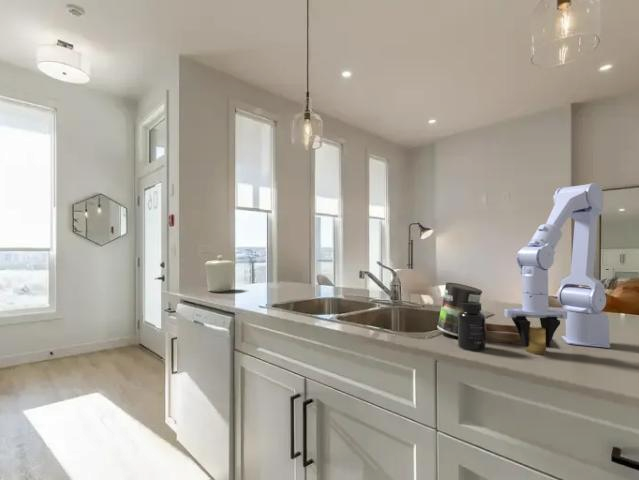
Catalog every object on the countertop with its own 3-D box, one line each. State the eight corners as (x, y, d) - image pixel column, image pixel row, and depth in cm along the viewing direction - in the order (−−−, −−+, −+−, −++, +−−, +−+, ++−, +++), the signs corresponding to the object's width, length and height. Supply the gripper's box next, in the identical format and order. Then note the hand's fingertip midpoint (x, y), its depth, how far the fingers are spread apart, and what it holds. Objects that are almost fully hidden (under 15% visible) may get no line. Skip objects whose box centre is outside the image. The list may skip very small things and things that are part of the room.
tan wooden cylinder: (544, 350, 91) (544, 327, 91) (547, 355, 87) (547, 331, 87) (524, 348, 93) (524, 325, 93) (526, 353, 89) (526, 329, 89)
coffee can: (443, 334, 101) (452, 286, 101) (432, 323, 112) (441, 280, 111) (478, 340, 101) (488, 293, 100) (465, 329, 111) (473, 286, 111)
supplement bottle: (453, 344, 96) (453, 300, 96) (477, 343, 97) (476, 300, 97) (465, 351, 89) (465, 304, 90) (491, 351, 90) (490, 304, 90)
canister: (223, 293, 196) (223, 256, 196) (197, 292, 202) (197, 255, 203) (241, 289, 213) (241, 255, 213) (216, 288, 219) (217, 254, 219)
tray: (542, 336, 104) (541, 327, 104) (549, 347, 93) (549, 337, 94) (482, 331, 111) (482, 322, 111) (483, 340, 100) (483, 331, 100)
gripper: (555, 291, 93) (556, 342, 93) (499, 290, 95) (499, 341, 94) (572, 295, 86) (572, 350, 86) (510, 294, 88) (511, 348, 87)
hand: (535, 346), depth 90 cm, fingers closed on tan wooden cylinder, 4 cm apart
